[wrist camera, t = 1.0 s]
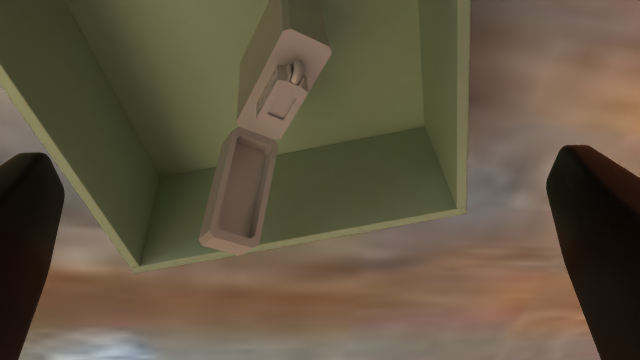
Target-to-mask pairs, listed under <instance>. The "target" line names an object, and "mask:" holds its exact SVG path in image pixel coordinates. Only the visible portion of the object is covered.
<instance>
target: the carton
mask: <svg viewBox="0 0 640 360" xmlns="http://www.w3.org/2000/svg"><path fill="white" fill-rule="evenodd" d="M269 1H270V0H0V85H1V86H2V87H3V89H4V90H5V92H6V93H7V94H8V96H9V97H10V99H11V100H12V102H13V103H14V104H15V106H16V107H17V109H18V110H19V111H20V113H21V114H22V116H23V117H24V118H25V120H26V121H27V123H28V124H29V125H30V127H31V128H32V130H33V131H34V132H35V134H36V135H37V137H38V138H39V140H40V141H41V142H42V144H43V145H44V147H45V148H46V149H47V151H48V152H49V154H50V155H51V156H52V158H53V159H54V161H55V162H56V163H57V165H58V166H59V168H60V169H61V170H62V172H63V173H64V175H65V176H66V177H67V179H68V180H69V182H70V183H71V185H72V186H73V187H74V189H75V190H76V192H77V193H78V194H79V196H80V197H81V199H82V200H83V201H84V203H85V204H86V206H87V207H88V208H89V210H90V211H91V213H92V214H93V215H94V217H95V218H96V220H97V221H98V223H99V224H100V225H101V227H102V228H103V230H104V231H105V232H106V234H107V235H108V237H109V238H110V239H111V241H112V242H113V244H114V245H115V246H116V248H117V249H118V251H119V252H120V253H121V255H122V256H123V258H124V259H125V260H126V262H127V263H128V265H129V266H130V267H131V269H132V270H133V272H134V273H141V272H147V271H152V270H158V269H163V268H169V267H174V266H180V265H185V264H191V263H196V262H202V261H208V260H213V259H219V258H224V257H230V256H235V254H231V253H228V252H224V251H220V250H216V249H213V248H209V247H205V246H202V245H201V243H200V241H199V240H198V239H199V235H200V231H201V227H202V223H203V219H204V215H205V211H206V207H207V203H208V199H209V195H210V191H211V187H212V183H213V179H214V175H215V171H216V167H217V163H218V158H219V154H220V150H221V146H222V143H223V142H224V141H225V139H226V138H227V137H228V136H229V134H230V133H231V132H232V131H233V129H235V128H237V127H239V126H238V124H237V122H236V119H237V105H238V91H239V76H240V62H241V59H242V57H243V55H244V53H245V51H246V49H247V47H248V45H249V42H250V40H251V38H252V36H253V34H254V32H255V30H256V28H257V26H258V24H259V22H260V19H261V17H262V15H263V13H264V11H265V9H266V7H267V5H268V3H269ZM321 2H322V7H323V12H324V17H325V22H326V27H327V32H328V37H329V42H330V47H331V52H332V54H331V55H330V57H329V59H328V60H327V62H326V64H325V65H324V67H323V69H322V70H321V72H320V74H319V75H318V77H317V79H316V80H315V82H314V84H313V86H312V87H311V89H310V91H309V92H308V94H307V96H306V98H305V99H304V101H303V103H302V104H301V106H300V108H299V109H298V111H297V113H296V114H295V116H294V118H293V120H292V121H291V123H290V125H289V126H288V128H287V130H286V131H285V132H284V134H283V136H282V137H281V138H280V139H277V140H275V141H276V143H277V144H278V150H277V155H276V160H275V165H274V170H273V176H272V181H271V186H270V191H269V196H268V201H267V206H266V212H265V217H264V222H263V227H262V232H261V237H260V242H259V245H257V246H256V247H254V248H253V249H251V250H249V251H247V252H246V253H252V252H257V251H263V250H268V249H274V248H279V247H285V246H290V245H296V244H301V243H307V242H312V241H318V240H323V239H329V238H334V237H340V236H346V235H351V234H357V233H362V232H368V231H373V230H379V229H384V228H390V227H395V226H401V225H406V224H412V223H417V222H423V221H428V220H434V219H439V218H445V217H450V216H456V215H461V214H466V206H467V161H468V115H469V70H470V25H471V0H321ZM246 253H244V254H246Z"/></svg>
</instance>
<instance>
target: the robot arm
mask: <svg viewBox="0 0 640 360" xmlns="http://www.w3.org/2000/svg"><path fill="white" fill-rule="evenodd" d="M546 190H547V195H548V199H549V203H550V207H551V211H552V215H553V219H554V223H555V227H556V231H557V235H558V239H559V243H560V247H561V251H562V255H563V258H564V262H565V265H566V268H567V271H568V274H569V277H570V279H571V282H572V284H573V287H574V290H575V292H576V295H577V298H578V300H579V303H580V305H581V308H582V311H583V313H584V316H585V319H586V321H587V324H588V326H589V329H590V332H591V334H592V337H593V340H594V342H595V345H596V348H597V350H598V353H599V355H600V358H601V360H640V178H639V177H637V176H636V175H634V174H633V173H631V172H630V171H628V170H626V169H625V168H623V167H622V166H620V165H619V164H617V163H615V162H614V161H612V160H611V159H609V158H608V157H606V156H604V155H603V154H601V153H600V152H598V151H597V150H595V149H593V148H592V147H590V146H588V145H566V146H564V147H562V148H561V149H560V151H559V153H558V155H557V157H556V160H555V162H554V164H553V167H552V169H551V171H550V173H549V176H548V178H547V183H546ZM64 195H65V194H64V188H63V185H62V183H61V181H60V179H59V176H58V174H57V172H56V170H55V168H54V166H53V164H52V162H51V160H50V158H49V157H48V156H47V155H46V154H44V153H20V154H18V155H16V156H14V157H13V158H11V159H10V160H8V161H7V162H5V163H4V164H2V165H1V166H0V360H18V359H19V356H20V353H21V350H22V347H23V345H24V342H25V339H26V336H27V333H28V330H29V327H30V325H31V322H32V319H33V316H34V313H35V310H36V307H37V305H38V302H39V299H40V296H41V293H42V290H43V287H44V284H45V281H46V278H47V275H48V271H49V267H50V263H51V258H52V254H53V249H54V245H55V240H56V235H57V231H58V226H59V222H60V217H61V212H62V208H63V203H64Z"/></svg>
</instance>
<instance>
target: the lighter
mask: <svg viewBox="0 0 640 360" xmlns="http://www.w3.org/2000/svg"><path fill="white" fill-rule="evenodd" d="M331 54H332V52H331V47H330V42H329V37H328V32H327V27H326V22H325V17H324V12H323V7H322V2H321V0H270V1H269V3H268V5H267V7H266V9H265V11H264V13H263V15H262V17H261V19H260V22H259V24H258V26H257V28H256V30H255V32H254V34H253V36H252V38H251V40H250V42H249V45H248V47H247V49H246V51H245V53H244V55H243V57H242V59H241V62H240V76H239V91H238V105H237V119H236V122H237V124H238V126H239V127H237V128H235V129H233V131H232V132H231V133H230V134H229V136H228V137H227V138H226V139H225V141H224V142H223V143H222V146H221V150H220V154H219V158H218V163H217V167H216V171H215V175H214V179H213V183H212V187H211V191H210V195H209V199H208V203H207V207H206V211H205V215H204V219H203V223H202V227H201V231H200V235H199V239H198V240H199V241H200V243H201V245H202V246H205V247H209V248H213V249H216V250H220V251H224V252H228V253H231V254H235V255H239V256H241V255H242V254H244V253H246V252H247V251H249V250H251V249H253V248H254V247H256V246H257V245H259V242H260V237H261V232H262V227H263V222H264V217H265V212H266V206H267V201H268V196H269V191H270V186H271V181H272V176H273V170H274V165H275V160H276V155H277V150H278V144H277V143H276V141H275V140H277V139H280V138H281V137H282V136H283V134H284V132H285V131H286V130H287V128H288V126H289V125H290V123H291V121H292V120H293V118H294V116H295V114H296V113H297V111H298V109H299V108H300V106H301V104H302V103H303V101H304V99H305V98H306V96H307V94H308V92H309V91H310V89H311V87H312V86H313V84H314V82H315V80H316V79H317V77H318V75H319V74H320V72H321V70H322V69H323V67H324V65H325V64H326V62H327V60H328V59H329V57H330V55H331Z"/></svg>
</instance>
